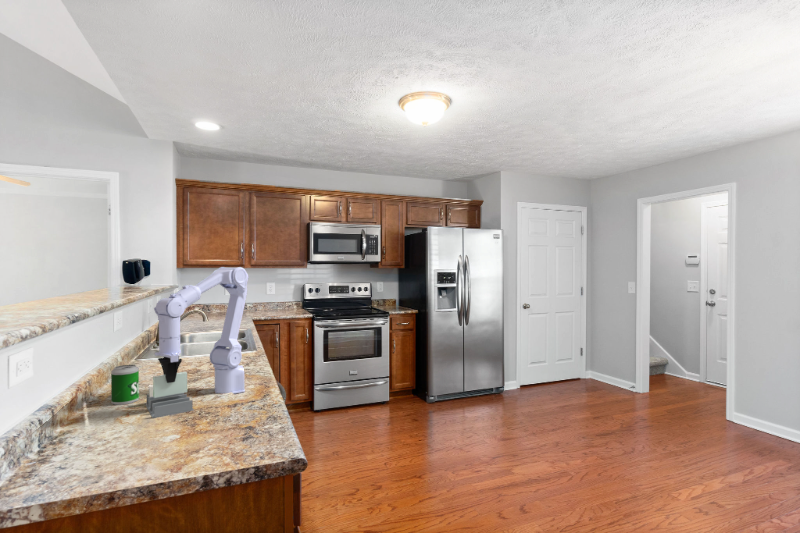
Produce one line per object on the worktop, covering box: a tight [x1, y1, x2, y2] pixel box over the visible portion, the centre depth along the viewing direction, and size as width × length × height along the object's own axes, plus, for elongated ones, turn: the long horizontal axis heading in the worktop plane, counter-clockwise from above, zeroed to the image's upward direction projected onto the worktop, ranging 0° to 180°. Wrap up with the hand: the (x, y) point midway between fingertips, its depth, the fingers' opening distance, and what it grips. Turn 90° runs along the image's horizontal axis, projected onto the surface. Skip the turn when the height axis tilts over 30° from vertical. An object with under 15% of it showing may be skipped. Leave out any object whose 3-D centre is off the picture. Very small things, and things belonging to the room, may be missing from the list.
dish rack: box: [144, 393, 195, 419], centre depth 131 cm, size 11×16×4 cm
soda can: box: [110, 364, 140, 406], centre depth 137 cm, size 8×8×12 cm
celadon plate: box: [152, 371, 188, 398], centre depth 130 cm, size 9×2×6 cm, turn 128°
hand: (170, 381), depth 130 cm, fingers closed on celadon plate, 2 cm apart
